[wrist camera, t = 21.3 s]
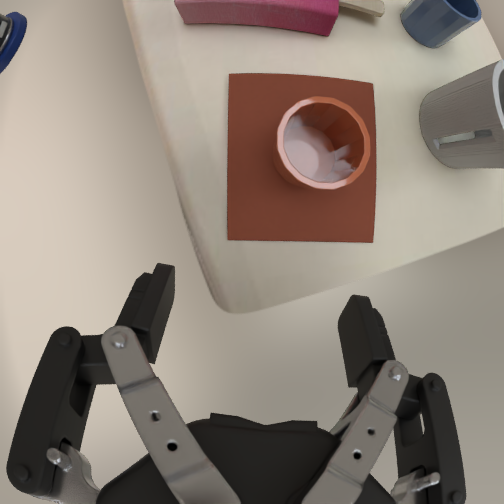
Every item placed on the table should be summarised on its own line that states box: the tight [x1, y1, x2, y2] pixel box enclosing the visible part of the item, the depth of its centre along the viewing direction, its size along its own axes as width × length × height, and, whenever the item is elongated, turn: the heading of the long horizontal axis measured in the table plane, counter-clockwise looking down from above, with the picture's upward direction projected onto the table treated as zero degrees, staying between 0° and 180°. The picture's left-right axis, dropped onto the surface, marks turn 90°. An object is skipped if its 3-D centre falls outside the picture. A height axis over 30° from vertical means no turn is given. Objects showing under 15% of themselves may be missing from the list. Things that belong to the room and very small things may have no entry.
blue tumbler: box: [401, 0, 481, 48], centre depth 17 cm, size 6×6×8 cm
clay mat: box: [227, 73, 376, 243], centre depth 25 cm, size 14×16×1 cm
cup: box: [420, 59, 504, 169], centre depth 18 cm, size 9×9×12 cm
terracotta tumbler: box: [272, 96, 370, 190], centre depth 21 cm, size 6×6×8 cm
